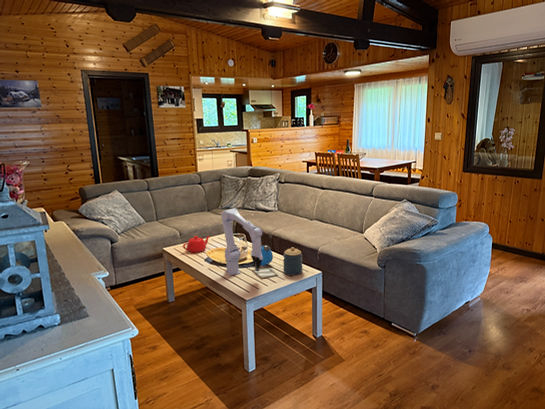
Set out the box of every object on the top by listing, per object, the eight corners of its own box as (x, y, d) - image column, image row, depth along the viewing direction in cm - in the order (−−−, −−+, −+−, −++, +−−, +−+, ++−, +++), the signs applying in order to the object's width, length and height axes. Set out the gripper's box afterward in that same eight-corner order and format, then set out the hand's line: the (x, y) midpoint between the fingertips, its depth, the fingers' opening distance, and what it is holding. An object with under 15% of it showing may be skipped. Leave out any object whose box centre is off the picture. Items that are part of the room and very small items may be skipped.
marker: (254, 270, 234) (254, 257, 232) (258, 269, 235) (258, 256, 234) (256, 271, 232) (255, 258, 230) (260, 271, 233) (259, 257, 231)
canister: (290, 277, 239) (290, 251, 236) (279, 271, 250) (279, 246, 246) (306, 272, 246) (306, 247, 243) (294, 266, 257) (294, 242, 253)
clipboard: (251, 271, 251) (251, 269, 251) (267, 267, 256) (267, 266, 256) (261, 279, 237) (261, 277, 237) (277, 275, 242) (277, 273, 242)
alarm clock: (273, 265, 261) (272, 245, 258) (268, 267, 256) (267, 247, 253) (259, 261, 269) (258, 242, 266) (253, 264, 264) (253, 244, 261)
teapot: (188, 256, 283) (187, 241, 280) (179, 251, 294) (177, 237, 292) (215, 248, 299) (215, 234, 297) (205, 244, 311) (204, 231, 308)
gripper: (246, 244, 235) (247, 264, 238) (255, 251, 222) (256, 272, 225) (256, 242, 238) (257, 262, 241) (265, 249, 225) (266, 270, 228)
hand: (257, 267), depth 233 cm, fingers closed on marker, 3 cm apart
